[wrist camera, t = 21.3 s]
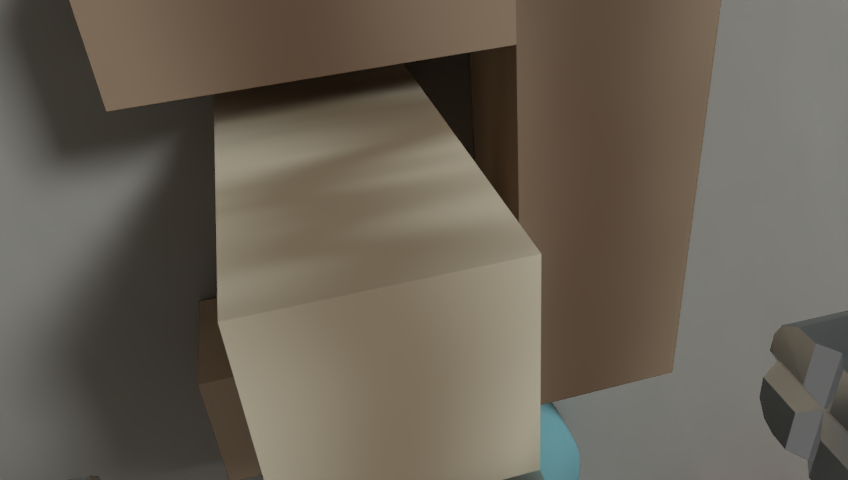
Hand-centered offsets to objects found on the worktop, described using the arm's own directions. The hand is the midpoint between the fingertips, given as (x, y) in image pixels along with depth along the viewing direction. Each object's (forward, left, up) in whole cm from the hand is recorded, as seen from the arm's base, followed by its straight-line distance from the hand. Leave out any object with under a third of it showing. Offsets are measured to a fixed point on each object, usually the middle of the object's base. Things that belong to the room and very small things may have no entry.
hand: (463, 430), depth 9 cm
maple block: (+1, +1, -9) cm, 9 cm away
